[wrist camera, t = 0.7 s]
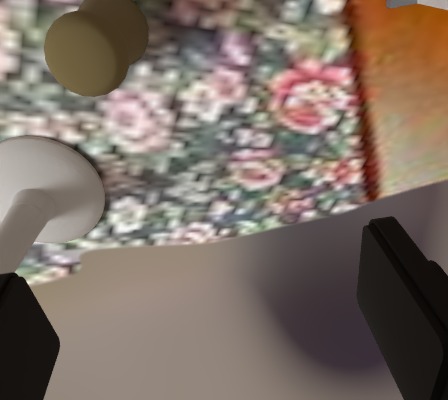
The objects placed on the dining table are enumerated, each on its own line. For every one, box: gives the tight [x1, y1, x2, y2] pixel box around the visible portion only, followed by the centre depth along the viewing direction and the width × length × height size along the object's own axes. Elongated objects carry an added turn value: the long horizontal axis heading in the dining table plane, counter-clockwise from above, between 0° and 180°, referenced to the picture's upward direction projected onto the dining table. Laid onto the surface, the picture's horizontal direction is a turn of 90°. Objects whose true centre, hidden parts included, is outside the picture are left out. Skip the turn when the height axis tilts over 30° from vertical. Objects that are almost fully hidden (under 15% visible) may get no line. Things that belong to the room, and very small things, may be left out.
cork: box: [44, 0, 148, 97], centre depth 28 cm, size 6×6×11 cm
